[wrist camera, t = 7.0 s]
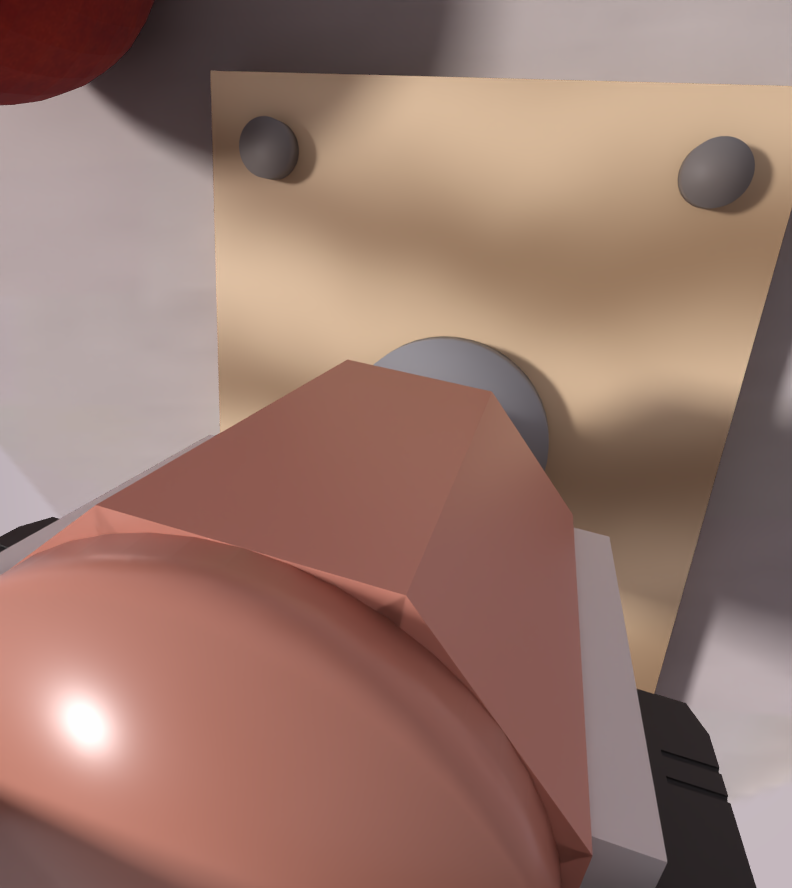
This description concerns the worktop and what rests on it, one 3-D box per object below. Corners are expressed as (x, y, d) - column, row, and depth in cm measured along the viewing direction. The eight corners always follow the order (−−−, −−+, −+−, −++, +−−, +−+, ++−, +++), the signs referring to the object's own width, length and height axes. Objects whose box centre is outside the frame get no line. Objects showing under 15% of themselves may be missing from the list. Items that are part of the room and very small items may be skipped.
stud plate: (236, 83, 19) (36, -14, 12) (801, 100, 15) (1015, -21, 8) (243, 617, 26) (121, 764, 18) (635, 709, 22) (672, 933, 15)
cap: (252, 338, 12) (-215, 491, 5) (603, 416, 11) (697, 785, 4) (231, 618, 15) (-95, 1000, 7) (514, 707, 13) (463, 1275, 6)
